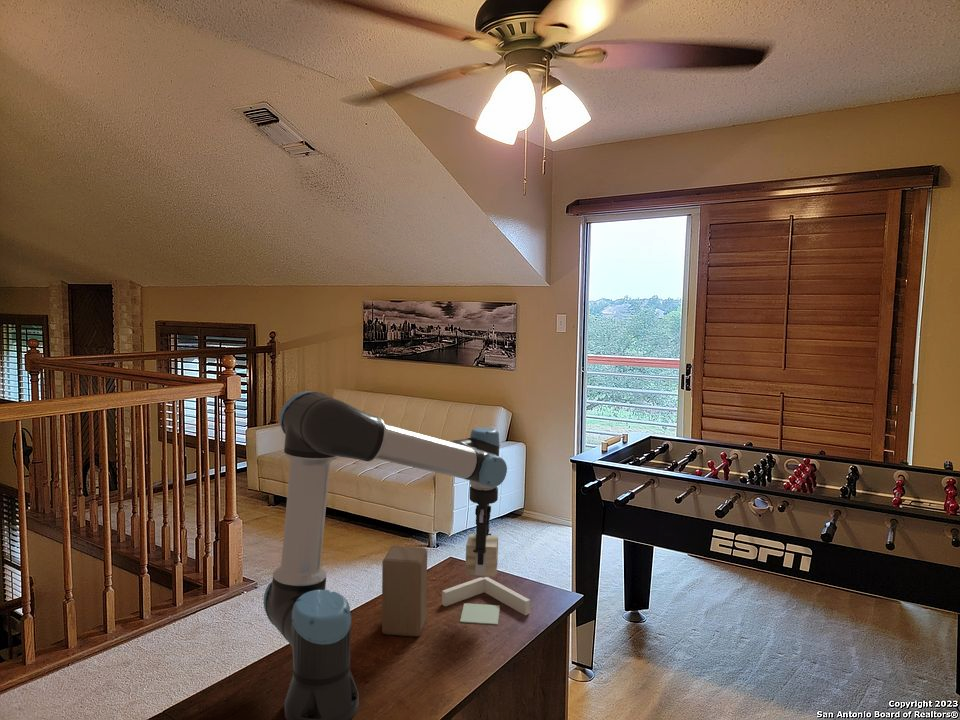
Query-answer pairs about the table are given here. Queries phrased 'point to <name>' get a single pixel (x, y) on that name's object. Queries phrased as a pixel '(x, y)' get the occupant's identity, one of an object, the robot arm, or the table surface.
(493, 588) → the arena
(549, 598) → the table surface
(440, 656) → the table surface
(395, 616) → the wooden block
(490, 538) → the birch cube
